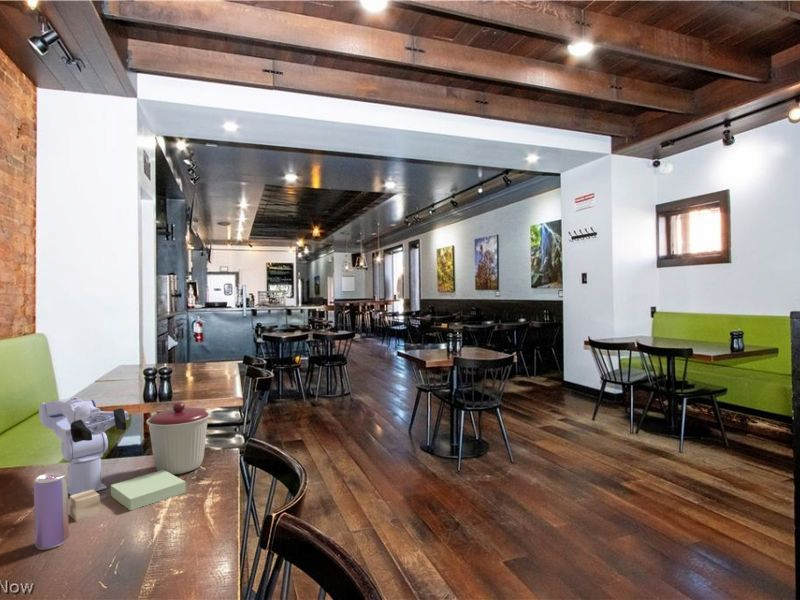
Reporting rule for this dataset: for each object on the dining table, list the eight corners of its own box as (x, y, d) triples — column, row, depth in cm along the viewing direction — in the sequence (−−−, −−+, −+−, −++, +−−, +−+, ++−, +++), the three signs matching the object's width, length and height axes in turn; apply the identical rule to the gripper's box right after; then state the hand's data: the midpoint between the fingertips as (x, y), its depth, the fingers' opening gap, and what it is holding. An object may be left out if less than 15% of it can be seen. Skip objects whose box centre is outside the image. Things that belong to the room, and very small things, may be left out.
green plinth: (110, 495, 125) (110, 485, 125) (163, 479, 136) (163, 469, 136) (130, 510, 116) (130, 499, 116) (185, 492, 127) (185, 481, 127)
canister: (135, 481, 135) (134, 410, 134) (162, 459, 153) (161, 396, 152) (199, 479, 136) (197, 408, 136) (218, 457, 154) (217, 395, 154)
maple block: (70, 515, 114) (69, 496, 114) (93, 508, 118) (92, 489, 118) (76, 522, 111) (75, 501, 111) (99, 514, 115) (99, 494, 115)
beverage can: (50, 552, 98) (49, 482, 97) (27, 549, 99) (26, 480, 99) (75, 537, 103) (74, 472, 103) (53, 535, 105) (52, 470, 104)
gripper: (57, 413, 119) (71, 425, 110) (119, 397, 130) (136, 407, 121) (61, 439, 120) (75, 453, 111) (122, 420, 131) (140, 432, 122)
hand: (107, 431), depth 116 cm, fingers open, 7 cm apart
